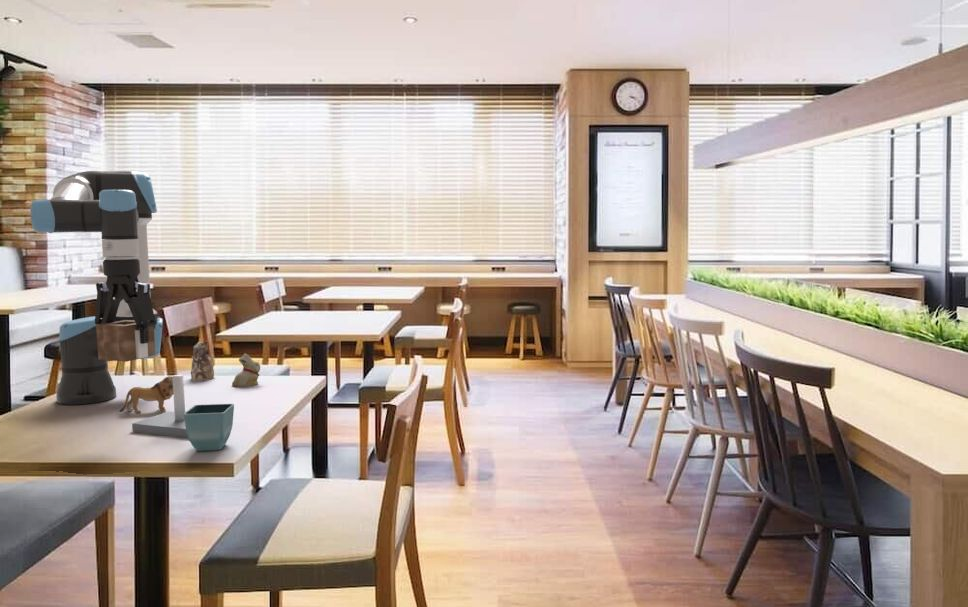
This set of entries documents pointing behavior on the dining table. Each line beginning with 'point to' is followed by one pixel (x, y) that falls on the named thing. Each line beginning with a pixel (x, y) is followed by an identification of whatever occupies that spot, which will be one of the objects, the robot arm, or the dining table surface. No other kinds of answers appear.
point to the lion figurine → (150, 394)
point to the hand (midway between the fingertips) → (126, 356)
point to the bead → (120, 341)
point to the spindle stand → (167, 416)
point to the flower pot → (209, 425)
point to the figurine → (201, 363)
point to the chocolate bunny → (247, 372)
